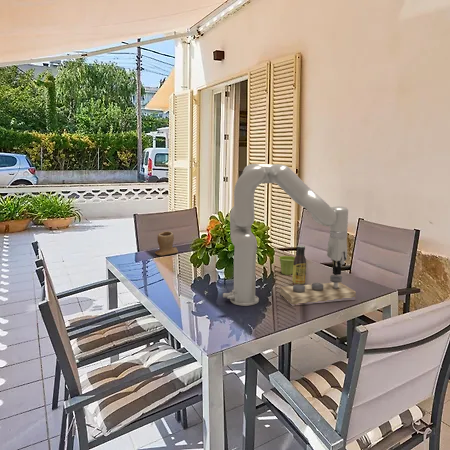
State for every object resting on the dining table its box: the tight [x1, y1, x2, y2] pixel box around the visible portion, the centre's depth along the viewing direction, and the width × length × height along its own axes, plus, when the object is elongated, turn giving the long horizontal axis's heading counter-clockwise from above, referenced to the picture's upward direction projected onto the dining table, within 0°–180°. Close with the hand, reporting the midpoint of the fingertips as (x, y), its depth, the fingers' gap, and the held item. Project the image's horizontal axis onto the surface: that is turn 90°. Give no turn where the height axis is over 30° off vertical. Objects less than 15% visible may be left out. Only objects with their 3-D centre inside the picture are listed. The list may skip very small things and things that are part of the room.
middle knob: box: [311, 282, 324, 291], centre depth 182 cm, size 5×5×6 cm
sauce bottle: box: [291, 245, 307, 286], centre depth 198 cm, size 6×6×20 cm
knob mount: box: [279, 282, 357, 304], centre depth 182 cm, size 30×14×4 cm, turn 103°
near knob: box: [292, 284, 305, 293], centre depth 180 cm, size 5×5×6 cm
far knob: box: [329, 274, 343, 289], centre depth 184 cm, size 5×5×6 cm
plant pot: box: [278, 255, 296, 276], centre depth 219 cm, size 9×9×9 cm
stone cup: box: [154, 230, 179, 257], centre depth 259 cm, size 15×12×15 cm
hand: (336, 274), depth 183 cm, fingers closed
